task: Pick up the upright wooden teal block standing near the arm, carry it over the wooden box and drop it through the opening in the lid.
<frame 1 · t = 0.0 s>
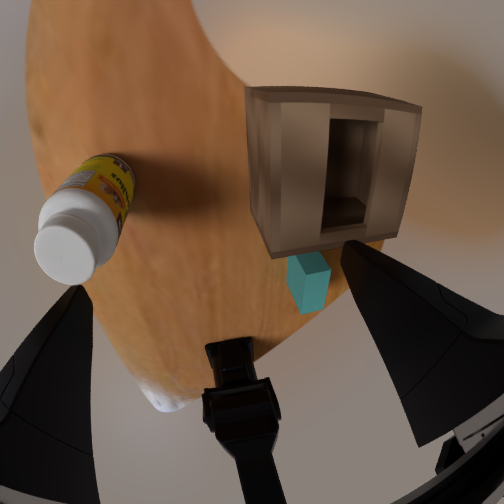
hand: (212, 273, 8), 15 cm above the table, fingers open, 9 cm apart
teal block: (298, 261, 29), on the table
wooden box: (310, 148, 22), on the table
supplement bottle: (106, 182, 20), on the table
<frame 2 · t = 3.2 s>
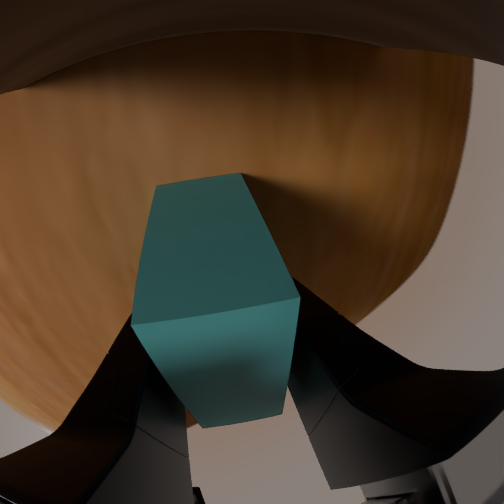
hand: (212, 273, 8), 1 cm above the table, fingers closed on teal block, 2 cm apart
teal block: (209, 253, 9), on the table, touching gripper
when the fingers open (9 cm above the table, at t = 5.5 s): teal block drops 8 cm, resting on wooden box.
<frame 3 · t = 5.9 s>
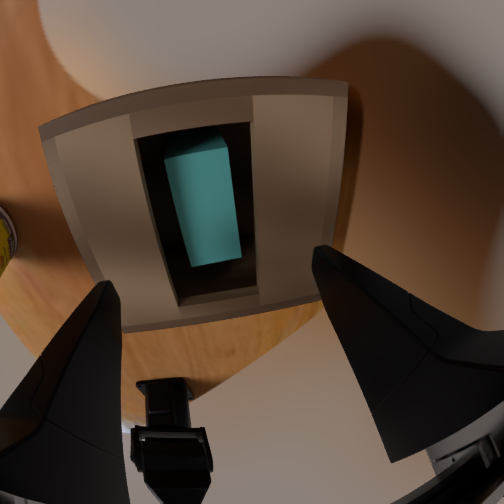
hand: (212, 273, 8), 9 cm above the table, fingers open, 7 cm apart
teal block: (201, 173, 15), point 1 cm above the table, touching wooden box
wooden box: (199, 169, 16), on the table
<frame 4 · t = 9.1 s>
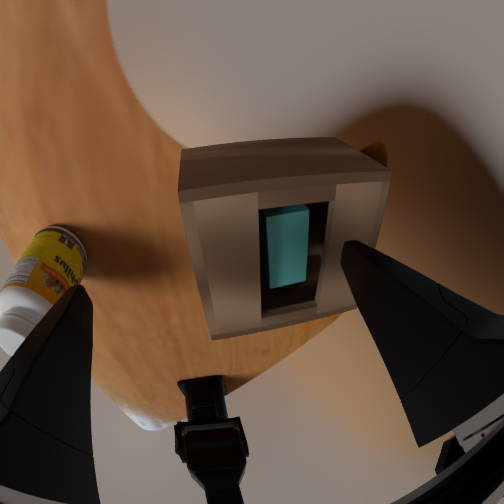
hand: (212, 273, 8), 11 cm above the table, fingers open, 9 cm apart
teal block: (267, 213, 20), point 1 cm above the table, touching wooden box
wooden box: (264, 209, 21), on the table
supplement bottle: (61, 249, 19), on the table
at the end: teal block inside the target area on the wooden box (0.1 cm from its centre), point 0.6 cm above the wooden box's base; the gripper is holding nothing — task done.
